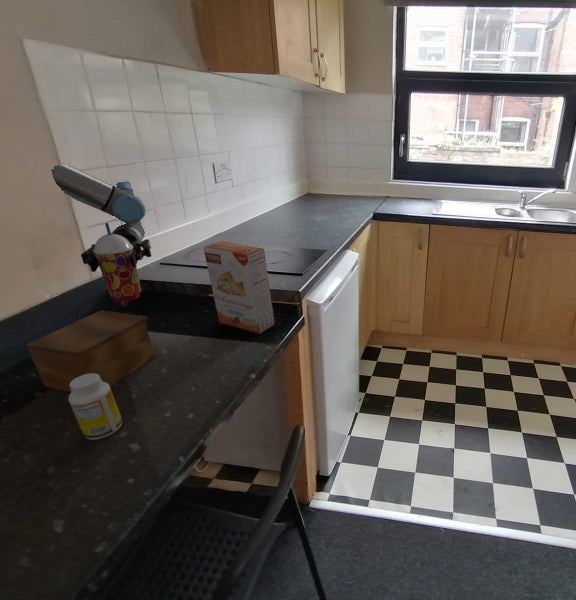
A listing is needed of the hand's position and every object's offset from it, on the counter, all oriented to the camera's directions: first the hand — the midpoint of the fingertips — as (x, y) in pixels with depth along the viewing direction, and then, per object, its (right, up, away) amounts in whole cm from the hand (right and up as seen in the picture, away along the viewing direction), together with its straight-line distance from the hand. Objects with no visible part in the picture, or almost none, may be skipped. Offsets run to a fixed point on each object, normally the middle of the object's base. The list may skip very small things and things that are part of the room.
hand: (112, 264), depth 98 cm
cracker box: (+31, -15, +6) cm, 35 cm away
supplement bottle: (+20, -31, -29) cm, 47 cm away
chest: (+8, -24, -13) cm, 28 cm away
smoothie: (-2, -8, +8) cm, 12 cm away
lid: (+8, -16, -17) cm, 24 cm away
